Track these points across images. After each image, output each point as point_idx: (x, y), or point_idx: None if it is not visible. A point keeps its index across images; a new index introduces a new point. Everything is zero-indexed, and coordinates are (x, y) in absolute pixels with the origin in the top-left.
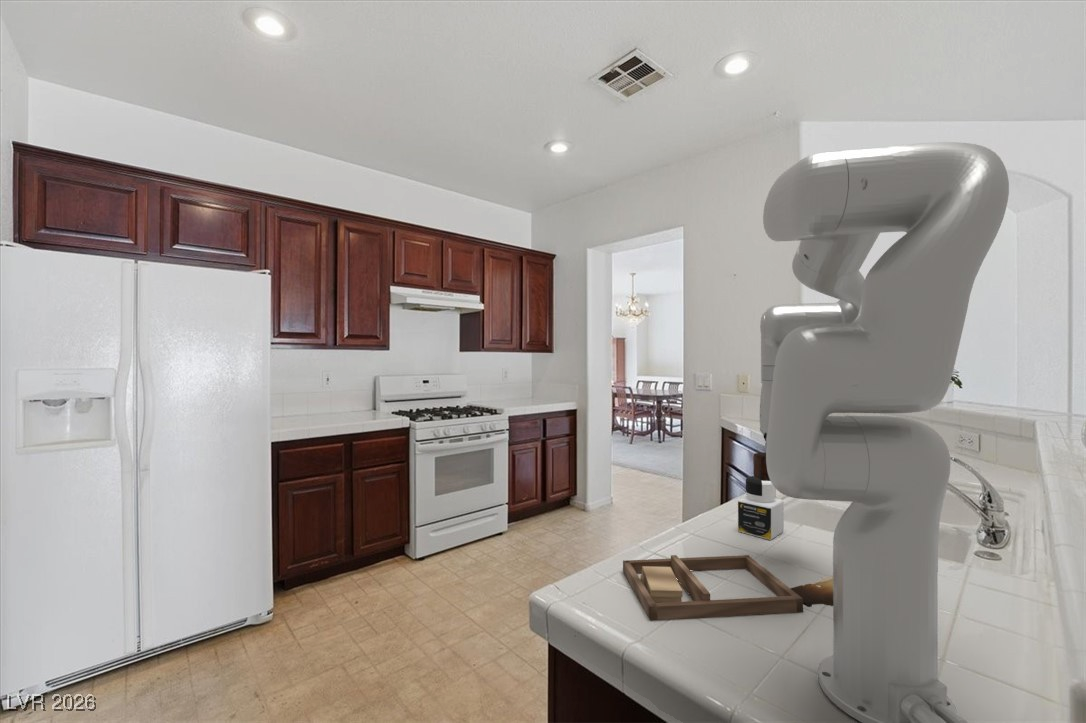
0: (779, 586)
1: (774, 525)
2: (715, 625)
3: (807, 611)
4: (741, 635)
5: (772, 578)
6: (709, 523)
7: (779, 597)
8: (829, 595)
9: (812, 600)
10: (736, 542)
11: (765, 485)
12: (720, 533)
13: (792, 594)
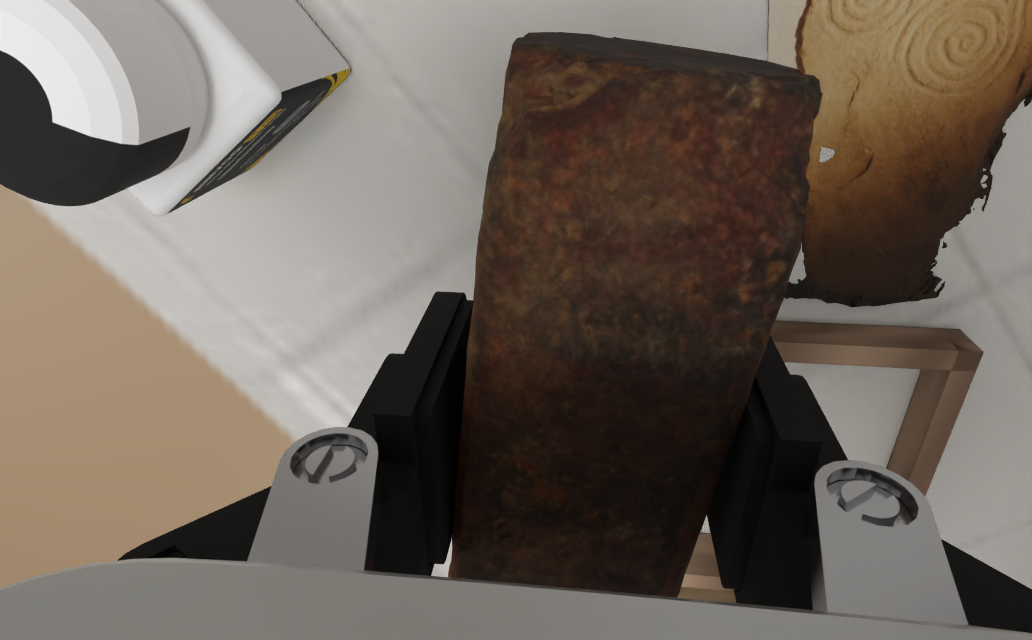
0: (866, 363)
1: (296, 37)
2: None
3: (961, 312)
4: (979, 530)
5: (815, 359)
6: (154, 243)
7: (941, 413)
8: (920, 178)
9: (919, 259)
10: (376, 239)
11: (141, 118)
12: (275, 254)
13: (942, 365)
